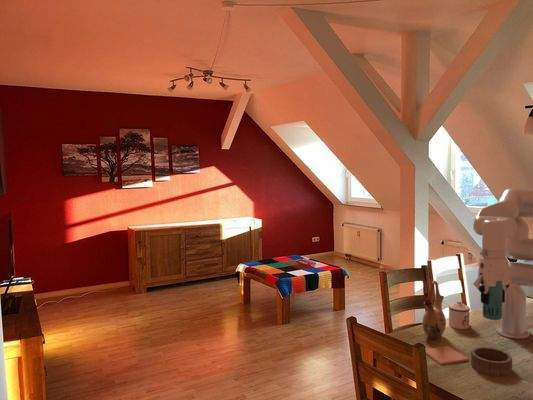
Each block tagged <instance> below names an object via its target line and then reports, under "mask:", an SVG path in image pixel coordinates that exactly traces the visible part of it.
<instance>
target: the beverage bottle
mask: <svg viewBox="0 0 533 400" xmlns="http://www.w3.org/2000/svg"><path fill="white" fill-rule="evenodd" d="M484 289H485V286H484ZM502 290H503V286H502V281H497V282H496V286H494V287H489V289H488V292H487V294H489V304H488V305H486V304H484V303H482V317H483V318H485V319H487V320H490V321H491V320H492V321H501V318H502V311H503V310H502Z"/></svg>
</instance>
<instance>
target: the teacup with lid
mask: <svg viewBox="0 0 533 400" xmlns="http://www.w3.org/2000/svg"><path fill="white" fill-rule="evenodd" d="M470 312H471V308H470V307H469V306H468V305H466V304H465V303H463V302H462V301H461V300H457V301H456V302H455V303H451V304H449V305H448V325H449V326H450V327H451V328H453V329H458V330H467V329H469V328H470Z"/></svg>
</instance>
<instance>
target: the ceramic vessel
mask: <svg viewBox="0 0 533 400" xmlns="http://www.w3.org/2000/svg"><path fill="white" fill-rule="evenodd" d="M434 287H435V293H434ZM433 293H434V294H435V297H434V298H435V299H434V302H433ZM444 298H445V296H444V295H441V293H440V288H439V283H438V281H437V280H433V281H432V282H431V284H430V289H429V292H428V294H427V296H426V298H425V300H424V301H423V305H424V306H425V308H426V311H425V313H424V314H423V317H422V323H421V325H422V330H423V332H424V333H425V336H427V337H428V338H429V339H430V340H437V339H440V338H441V337H442V336H443V334H444V333H445V331H446V327H447V320H446V315H445V313H444V311H443V300H444Z"/></svg>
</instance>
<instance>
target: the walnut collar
mask: <svg viewBox="0 0 533 400" xmlns="http://www.w3.org/2000/svg"><path fill="white" fill-rule="evenodd" d="M470 364H471V368H473V369H474V370H475V371H477V372H478V373H481V374H484V375H487V376H490V377H491V376H492V377H498V378H499V377H500V378H501V377H506V376H508V377H509V376H510V375H511V374H512V372H513V358H512V356H511V354H510V353H508V352H506V351H504V350H501V349H498V348H495V347H489V346H488V347H487V346H480V347H474V348H473V349H471V350H470Z"/></svg>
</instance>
